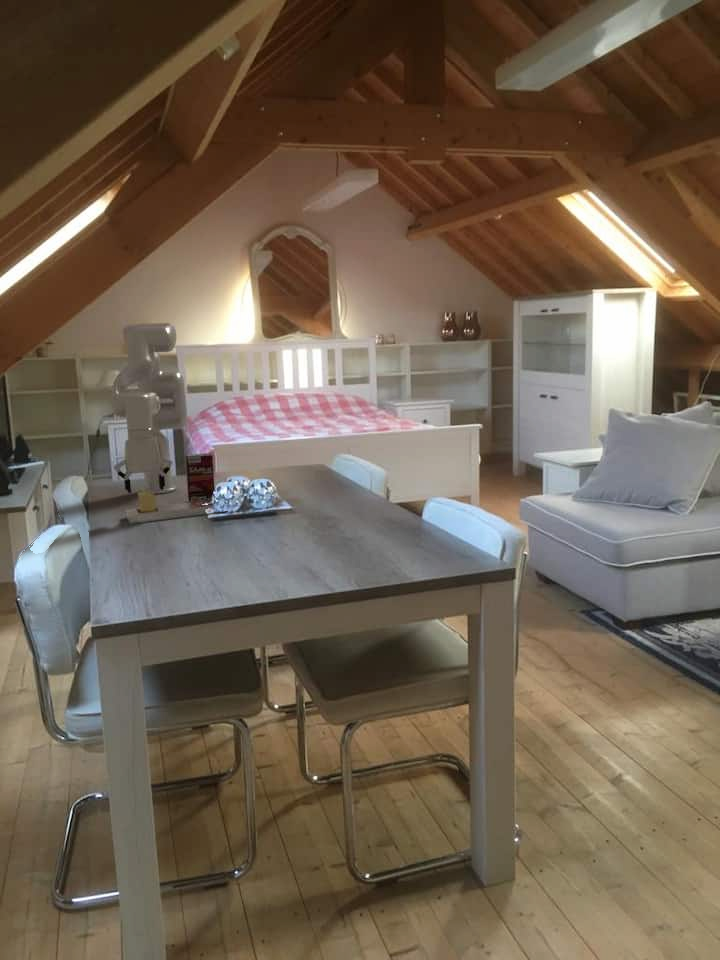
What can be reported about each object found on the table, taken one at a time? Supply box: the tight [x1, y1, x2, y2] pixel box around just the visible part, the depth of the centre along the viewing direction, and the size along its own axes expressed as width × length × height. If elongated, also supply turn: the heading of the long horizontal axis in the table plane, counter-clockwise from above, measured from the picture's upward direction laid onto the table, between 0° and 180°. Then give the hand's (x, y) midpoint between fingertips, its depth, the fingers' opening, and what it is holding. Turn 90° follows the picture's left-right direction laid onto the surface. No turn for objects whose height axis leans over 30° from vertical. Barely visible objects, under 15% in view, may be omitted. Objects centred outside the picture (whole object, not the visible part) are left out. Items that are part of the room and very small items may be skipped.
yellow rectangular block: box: [137, 491, 156, 513], centre depth 249 cm, size 4×4×8 cm
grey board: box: [125, 499, 214, 524], centre depth 253 cm, size 9×30×3 cm, turn 113°
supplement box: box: [185, 452, 216, 502], centre depth 270 cm, size 9×5×16 cm, turn 108°
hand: (145, 490), depth 247 cm, fingers open, 9 cm apart
